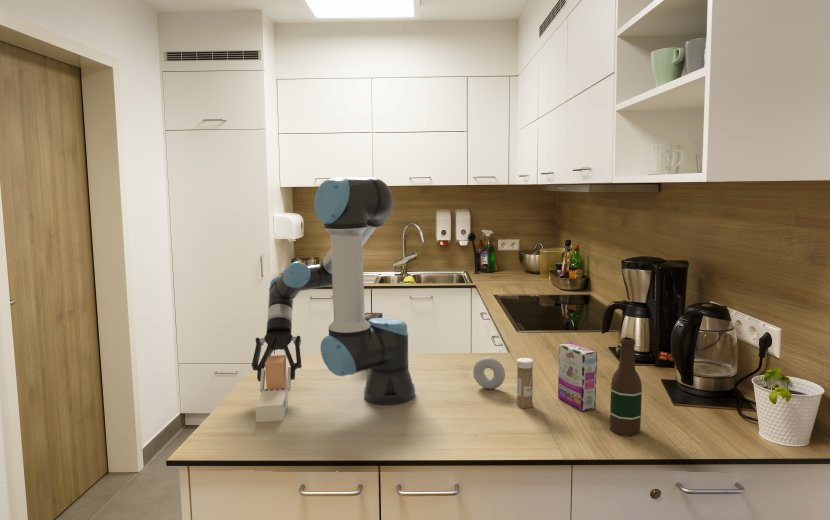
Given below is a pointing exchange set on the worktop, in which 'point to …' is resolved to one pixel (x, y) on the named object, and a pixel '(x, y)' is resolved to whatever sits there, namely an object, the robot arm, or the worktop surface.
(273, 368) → the brown box
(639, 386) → the beer bottle
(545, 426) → the worktop surface
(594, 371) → the candy bar box
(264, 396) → the white button box
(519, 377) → the sprinkles bottle
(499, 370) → the donut
